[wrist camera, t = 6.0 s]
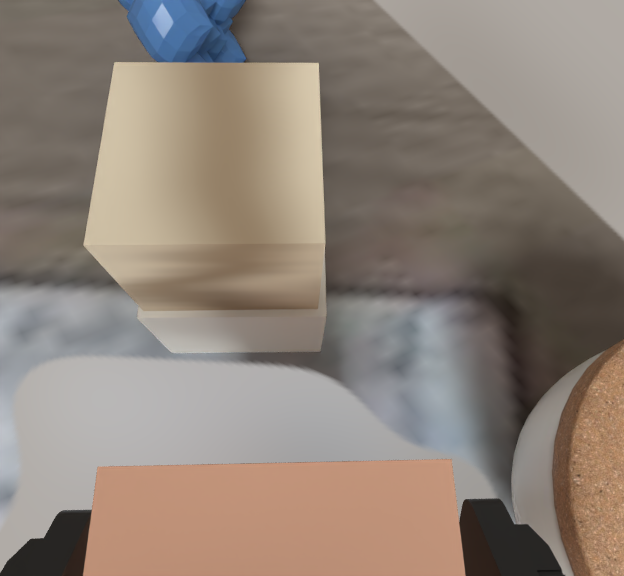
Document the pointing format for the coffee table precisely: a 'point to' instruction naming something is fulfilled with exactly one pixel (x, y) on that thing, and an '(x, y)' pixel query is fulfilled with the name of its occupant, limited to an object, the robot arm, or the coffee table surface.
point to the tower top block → (211, 186)
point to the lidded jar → (576, 467)
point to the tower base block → (240, 328)
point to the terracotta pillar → (276, 520)
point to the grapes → (186, 29)
